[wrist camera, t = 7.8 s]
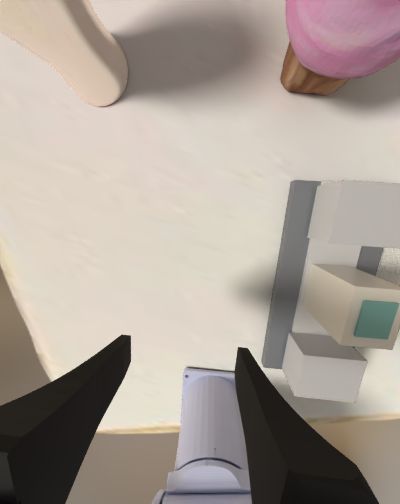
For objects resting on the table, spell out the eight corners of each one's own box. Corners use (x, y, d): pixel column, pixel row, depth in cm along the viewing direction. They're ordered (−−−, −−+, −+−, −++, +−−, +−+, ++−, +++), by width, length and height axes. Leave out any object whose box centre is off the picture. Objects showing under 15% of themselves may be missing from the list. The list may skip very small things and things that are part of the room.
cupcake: (253, 116, 18) (303, 6, 8) (269, 4, 16) (357, -310, 6) (346, 123, 18) (511, 17, 8) (373, 9, 16) (632, -311, 6)
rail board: (340, 368, 24) (373, 409, 19) (261, 360, 24) (274, 398, 19) (391, 187, 19) (453, 179, 14) (290, 181, 19) (317, 171, 14)
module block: (340, 309, 20) (394, 351, 14) (303, 306, 21) (341, 346, 15) (351, 266, 19) (415, 292, 13) (312, 263, 19) (357, 287, 13)
